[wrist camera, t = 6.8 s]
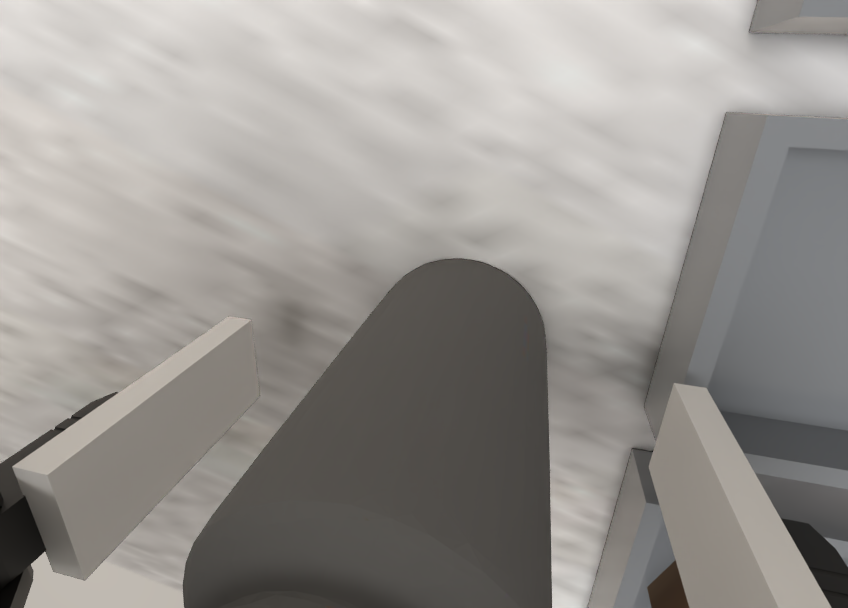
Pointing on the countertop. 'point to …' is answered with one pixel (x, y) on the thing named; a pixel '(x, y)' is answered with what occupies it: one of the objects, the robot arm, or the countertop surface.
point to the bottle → (402, 465)
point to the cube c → (668, 590)
